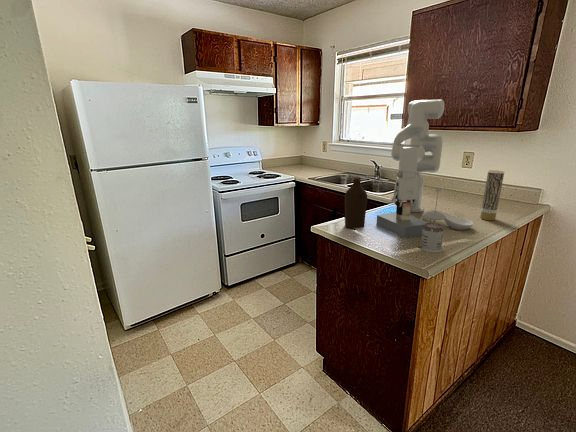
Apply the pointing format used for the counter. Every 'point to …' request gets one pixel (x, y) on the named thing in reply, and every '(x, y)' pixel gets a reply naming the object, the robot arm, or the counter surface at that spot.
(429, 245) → the french press
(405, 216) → the plug
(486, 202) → the paper tube
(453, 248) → the counter surface
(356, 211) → the olive oil
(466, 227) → the spoon rest
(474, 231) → the counter surface
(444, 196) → the counter surface
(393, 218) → the socket block
